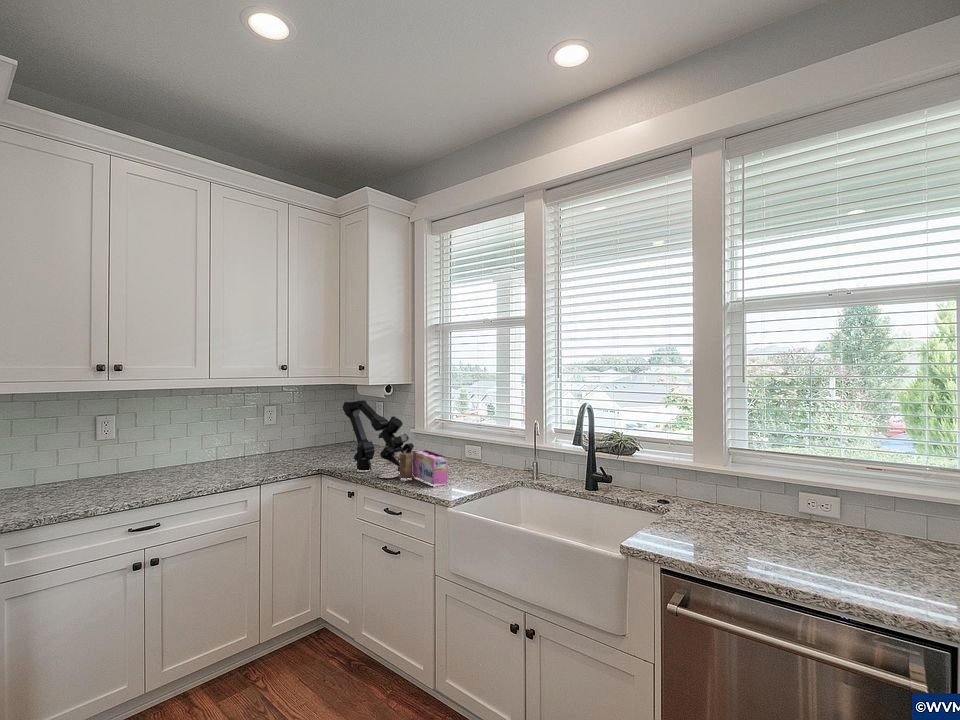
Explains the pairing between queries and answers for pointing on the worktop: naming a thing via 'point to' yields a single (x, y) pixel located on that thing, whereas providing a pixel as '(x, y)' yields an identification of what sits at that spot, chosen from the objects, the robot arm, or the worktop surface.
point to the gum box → (430, 467)
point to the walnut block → (406, 465)
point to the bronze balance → (393, 463)
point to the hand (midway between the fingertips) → (405, 463)
